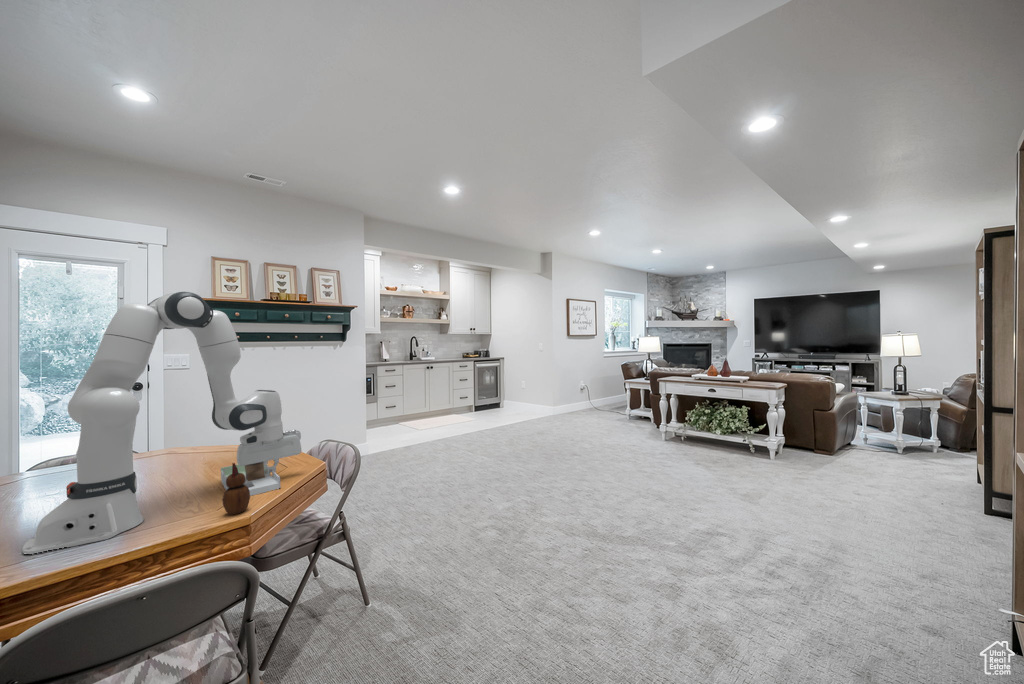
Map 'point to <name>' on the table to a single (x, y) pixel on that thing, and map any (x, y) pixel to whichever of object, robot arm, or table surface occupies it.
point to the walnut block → (254, 471)
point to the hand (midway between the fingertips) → (271, 472)
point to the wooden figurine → (236, 493)
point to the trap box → (253, 485)
